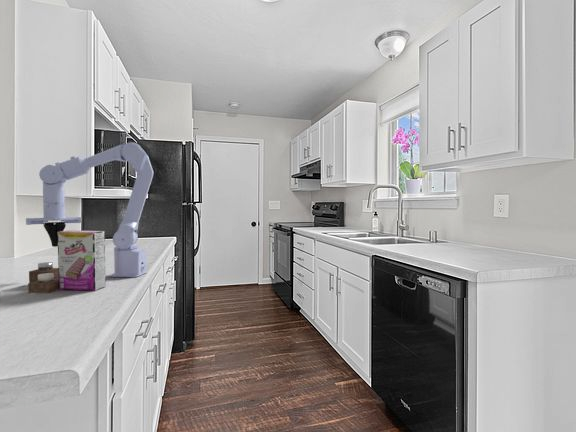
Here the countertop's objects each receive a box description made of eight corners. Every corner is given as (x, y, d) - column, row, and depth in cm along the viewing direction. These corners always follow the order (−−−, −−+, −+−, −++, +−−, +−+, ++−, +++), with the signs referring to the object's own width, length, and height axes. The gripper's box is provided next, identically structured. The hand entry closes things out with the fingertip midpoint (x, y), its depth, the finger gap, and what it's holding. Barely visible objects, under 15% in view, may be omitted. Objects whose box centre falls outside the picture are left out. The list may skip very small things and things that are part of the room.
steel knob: (56, 282, 104) (55, 262, 104) (47, 285, 100) (46, 264, 100) (44, 282, 104) (43, 262, 104) (35, 285, 100) (34, 264, 100)
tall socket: (61, 282, 105) (61, 267, 105) (48, 286, 99) (47, 271, 99) (43, 282, 105) (43, 267, 105) (29, 286, 99) (28, 271, 99)
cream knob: (56, 287, 97) (56, 273, 97) (47, 291, 94) (47, 275, 94) (44, 287, 97) (44, 273, 97) (34, 290, 94) (34, 275, 94)
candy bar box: (57, 290, 95) (55, 231, 95) (70, 286, 100) (69, 230, 100) (95, 291, 94) (94, 231, 94) (106, 287, 99) (105, 230, 99)
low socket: (62, 287, 98) (62, 279, 98) (48, 292, 93) (48, 283, 93) (43, 287, 98) (43, 278, 98) (28, 292, 93) (28, 283, 93)
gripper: (28, 203, 102) (29, 249, 102) (83, 203, 112) (84, 245, 113) (24, 204, 107) (25, 247, 107) (77, 204, 117) (78, 243, 118)
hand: (55, 246), depth 110 cm, fingers closed
